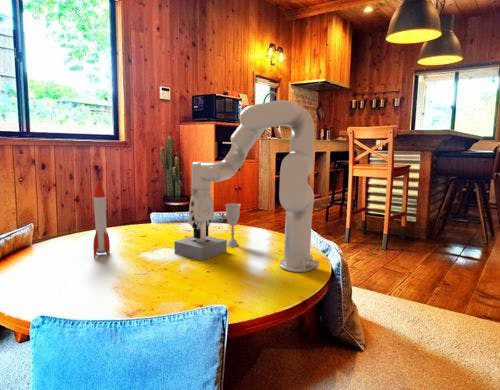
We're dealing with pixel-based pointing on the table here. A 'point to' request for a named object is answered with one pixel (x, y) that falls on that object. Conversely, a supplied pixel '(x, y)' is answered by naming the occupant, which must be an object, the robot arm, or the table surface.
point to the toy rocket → (100, 222)
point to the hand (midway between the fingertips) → (201, 236)
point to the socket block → (200, 247)
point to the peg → (202, 232)
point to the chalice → (232, 220)
